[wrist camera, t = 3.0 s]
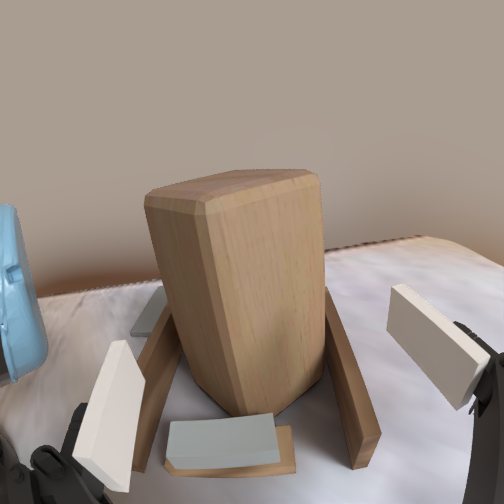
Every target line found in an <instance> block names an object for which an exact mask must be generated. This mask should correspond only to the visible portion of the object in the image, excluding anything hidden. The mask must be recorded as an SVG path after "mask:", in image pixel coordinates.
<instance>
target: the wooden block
mask: <svg viewBox="0 0 504 504" xmlns="http://www.w3.org/2000/svg"><path fill="white" fill-rule="evenodd" d="M144 209H145V214H146V218H147V223H148V227H149V231H150V235H151V240H152V244H153V247H154V252H155V256H156V260H157V264H158V268H159V271H160V275H161V279H162V282H163V286H164V289H165V293H166V296H167V300H168V303H169V306H170V310H171V313H172V316H173V319H174V323H175V326H176V329H177V332H178V335H179V338H180V341H181V344H182V347H183V350H184V353H185V356H186V358H187V361H188V364H189V367H190V370H191V372H192V375H193V378H194V380H195V382H196V383H197V384H198V385H199V386H200V387H201V388H202V389H203V390H204V391H206V392H207V393H208V394H209V395H210V396H211V397H212V398H213V399H214V400H215V401H216V402H217V403H218V404H219V405H220V406H221V407H222V408H224V409H225V410H226V411H227V412H228V413H229V414H230V415H231V416H232V417H234V418H235V417H244V416H252V415H260V414H267V413H273V417H275V416H276V415H278V414H279V413H280V412H282V411H283V410H284V409H285V408H287V407H288V406H289V405H290V404H291V403H293V402H294V401H295V400H296V399H297V398H299V397H300V396H301V395H302V394H303V393H305V392H306V391H307V390H308V389H309V388H310V387H311V386H313V385H314V384H315V383H316V382H317V381H318V380H319V379H320V378H321V376H322V374H323V372H324V352H325V264H324V237H323V218H322V203H321V188H320V181H319V178H318V176H317V174H315V173H312V172H310V171H308V170H305V169H256V170H233V171H229V172H224V173H219V174H215V175H211V176H206V177H201V178H197V179H193V180H188V181H184V182H180V183H176V184H173V185H169V186H164V187H161V188H157V189H153V190H152V191H151V192H149V193H148V194H147V195H146V196H145V201H144Z"/></svg>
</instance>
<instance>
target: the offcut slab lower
mask: <svg viewBox="0 0 504 504" xmlns="http://www.w3.org/2000/svg"><path fill="white" fill-rule="evenodd" d="M275 429H276V435H277V441H278V447H279V453H280V460H281V462H278V463H271V464H264V465H255V466H246V467H234V468H218V469H175V468H174V466H173V465H172V464H171V463H170V461H169V460H168V459H167V458H166V461H165V465H164V467H165V469H166V470H167V471H168V472H169V473H170V474H171V475H174V476H187V477H208V478H241V477H261V476H274V475H284V474H293V473H296V464H295V455H294V447H293V440H292V432H291V425H286V426H278V427H275Z"/></svg>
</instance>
